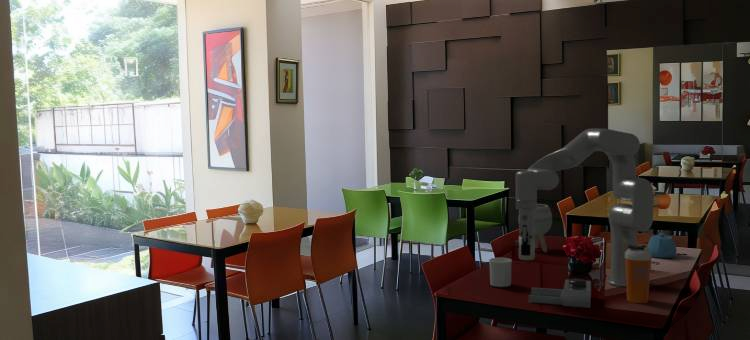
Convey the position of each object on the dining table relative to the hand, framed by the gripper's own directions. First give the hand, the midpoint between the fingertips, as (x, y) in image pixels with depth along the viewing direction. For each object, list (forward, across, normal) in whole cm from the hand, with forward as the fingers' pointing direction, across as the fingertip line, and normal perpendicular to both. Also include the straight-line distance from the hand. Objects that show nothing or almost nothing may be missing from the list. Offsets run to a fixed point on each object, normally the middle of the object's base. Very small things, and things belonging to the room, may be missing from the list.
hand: (526, 252), depth 241 cm
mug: (+17, +16, +12) cm, 27 cm away
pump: (+2, 0, 0) cm, 2 cm away
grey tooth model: (+18, +84, +6) cm, 86 cm away
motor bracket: (+17, +2, -12) cm, 21 cm away
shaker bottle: (+17, +7, -38) cm, 43 cm away
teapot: (+18, +83, -51) cm, 99 cm away
